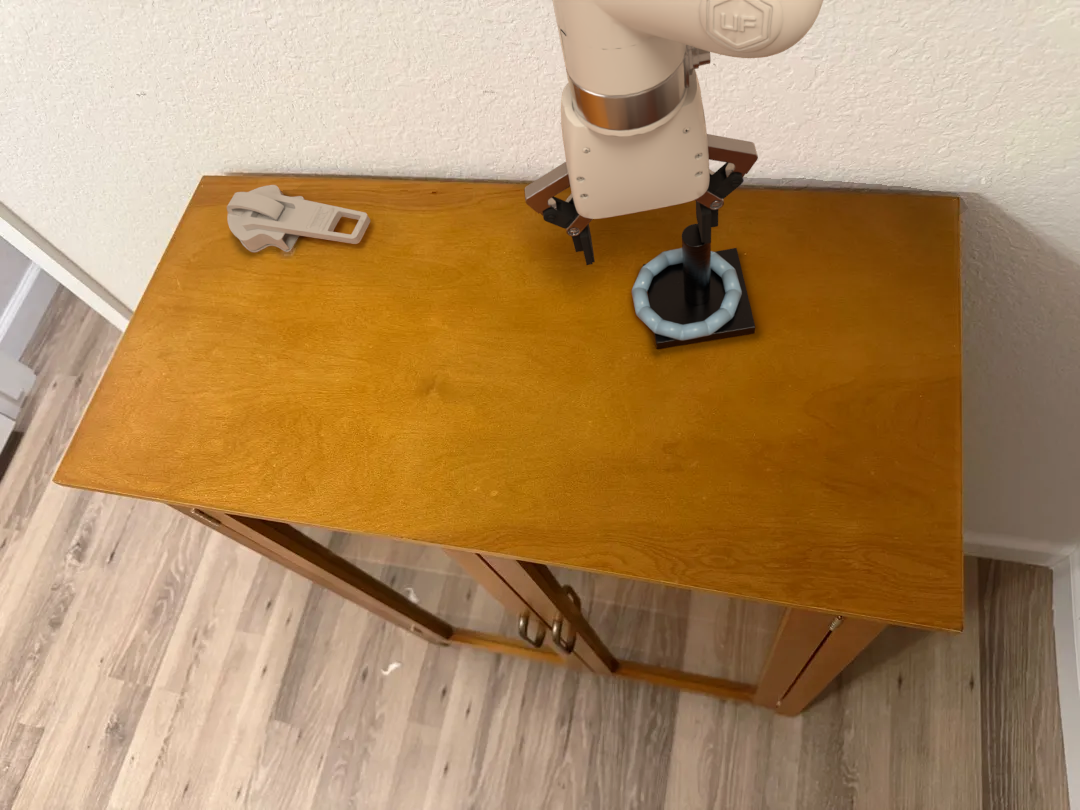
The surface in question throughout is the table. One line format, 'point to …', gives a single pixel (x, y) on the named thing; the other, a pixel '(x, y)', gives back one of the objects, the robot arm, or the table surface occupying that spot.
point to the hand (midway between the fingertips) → (645, 240)
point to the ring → (690, 329)
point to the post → (697, 292)
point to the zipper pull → (286, 219)
